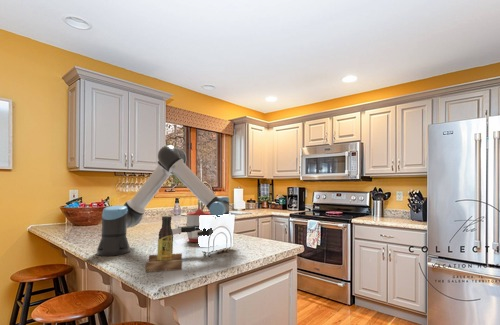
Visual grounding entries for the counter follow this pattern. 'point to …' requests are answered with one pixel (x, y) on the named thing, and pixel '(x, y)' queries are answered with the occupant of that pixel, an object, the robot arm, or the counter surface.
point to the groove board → (164, 263)
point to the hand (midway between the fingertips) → (180, 233)
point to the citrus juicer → (194, 222)
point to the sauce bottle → (165, 240)
